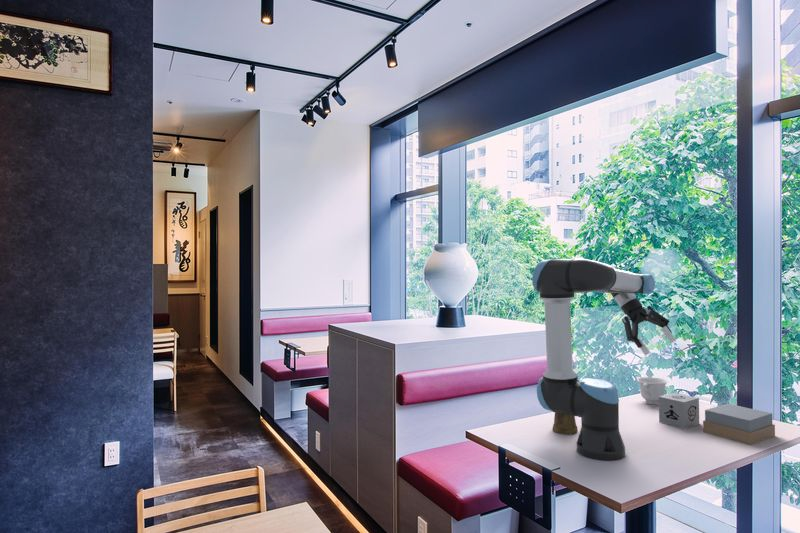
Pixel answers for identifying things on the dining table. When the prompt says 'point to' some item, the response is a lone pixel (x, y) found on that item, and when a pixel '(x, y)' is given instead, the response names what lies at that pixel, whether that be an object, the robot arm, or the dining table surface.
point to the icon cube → (679, 410)
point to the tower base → (739, 433)
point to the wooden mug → (564, 424)
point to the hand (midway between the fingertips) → (661, 347)
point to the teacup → (652, 389)
